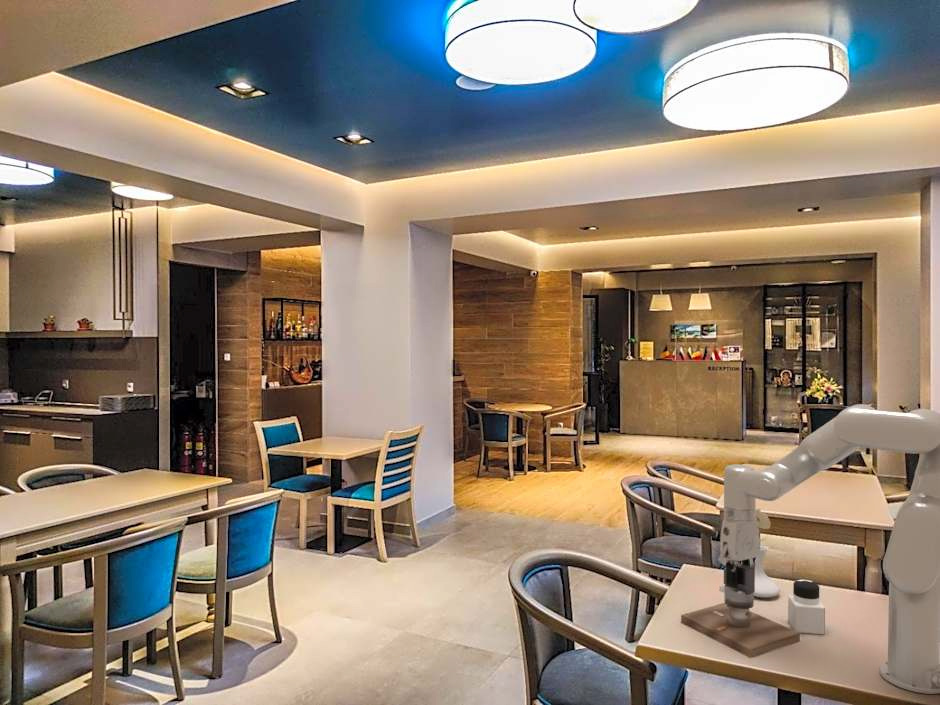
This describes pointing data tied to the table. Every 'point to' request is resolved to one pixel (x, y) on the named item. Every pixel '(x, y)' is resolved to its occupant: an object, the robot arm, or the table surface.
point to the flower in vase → (762, 581)
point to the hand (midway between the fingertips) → (738, 583)
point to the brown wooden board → (740, 629)
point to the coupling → (740, 588)
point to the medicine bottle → (806, 608)
